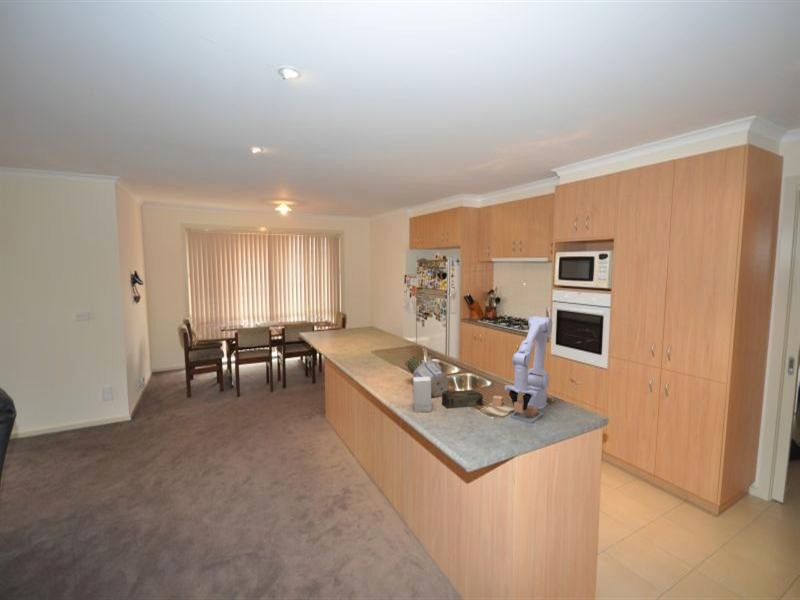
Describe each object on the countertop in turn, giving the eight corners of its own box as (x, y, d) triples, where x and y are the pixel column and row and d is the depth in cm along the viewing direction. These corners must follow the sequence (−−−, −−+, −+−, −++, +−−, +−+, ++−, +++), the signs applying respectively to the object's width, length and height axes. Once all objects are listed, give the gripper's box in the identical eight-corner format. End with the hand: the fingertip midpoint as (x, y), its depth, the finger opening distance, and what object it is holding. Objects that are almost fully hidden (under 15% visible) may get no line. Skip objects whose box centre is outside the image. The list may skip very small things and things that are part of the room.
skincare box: (430, 407, 190) (430, 376, 188) (431, 412, 183) (431, 380, 182) (413, 407, 190) (413, 376, 188) (414, 412, 183) (414, 380, 181)
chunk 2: (513, 411, 175) (514, 402, 175) (517, 408, 178) (517, 400, 178) (522, 413, 173) (522, 404, 172) (526, 410, 176) (526, 402, 175)
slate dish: (521, 410, 184) (521, 407, 184) (542, 416, 178) (542, 412, 178) (510, 418, 175) (510, 415, 175) (532, 424, 169) (532, 421, 169)
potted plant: (456, 369, 203) (425, 345, 228) (427, 376, 195) (398, 350, 220) (452, 398, 209) (423, 371, 234) (423, 405, 201) (396, 377, 225)
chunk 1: (494, 403, 193) (494, 395, 193) (502, 404, 192) (502, 396, 191) (492, 405, 190) (492, 397, 189) (500, 407, 188) (501, 399, 188)
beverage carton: (483, 406, 190) (483, 393, 190) (446, 410, 186) (446, 397, 186) (476, 401, 198) (476, 388, 197) (440, 404, 194) (440, 391, 193)
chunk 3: (528, 413, 181) (528, 404, 180) (537, 415, 178) (537, 406, 178) (525, 415, 178) (525, 407, 177) (533, 417, 175) (533, 409, 175)
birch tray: (495, 402, 195) (495, 400, 195) (518, 408, 188) (518, 406, 188) (479, 412, 183) (479, 410, 183) (503, 418, 176) (503, 416, 175)
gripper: (501, 378, 176) (501, 407, 177) (533, 384, 167) (532, 415, 168) (508, 374, 181) (508, 402, 183) (539, 380, 172) (538, 410, 173)
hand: (520, 408), depth 176 cm, fingers closed on chunk 2, 4 cm apart
